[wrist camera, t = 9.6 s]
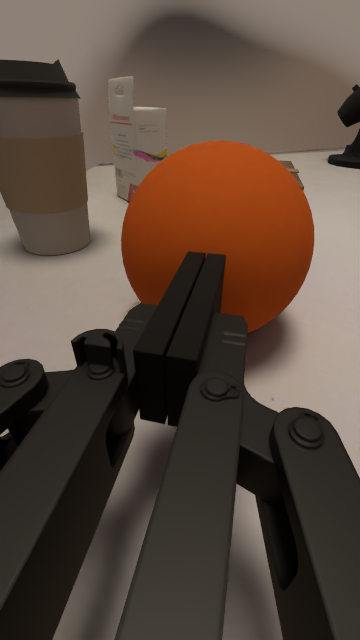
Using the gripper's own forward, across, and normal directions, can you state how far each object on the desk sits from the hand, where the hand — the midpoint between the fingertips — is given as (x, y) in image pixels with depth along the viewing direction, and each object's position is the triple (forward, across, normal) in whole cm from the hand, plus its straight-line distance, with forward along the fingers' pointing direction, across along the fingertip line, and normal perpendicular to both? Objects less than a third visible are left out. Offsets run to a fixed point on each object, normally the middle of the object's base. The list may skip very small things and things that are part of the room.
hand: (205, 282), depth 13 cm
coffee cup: (+16, -18, -6) cm, 25 cm away
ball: (+6, 0, -1) cm, 6 cm away
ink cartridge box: (+34, -15, -5) cm, 38 cm away
